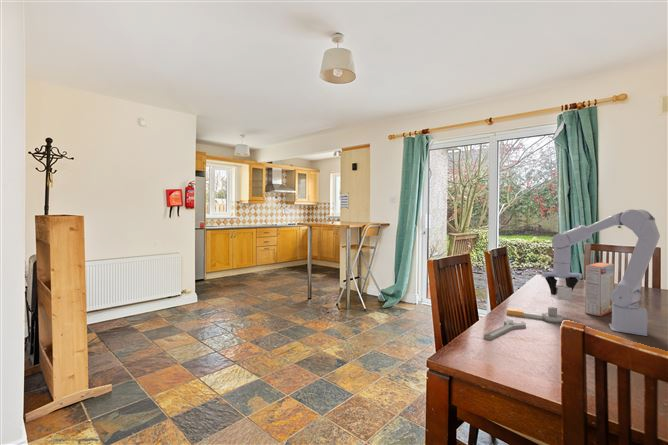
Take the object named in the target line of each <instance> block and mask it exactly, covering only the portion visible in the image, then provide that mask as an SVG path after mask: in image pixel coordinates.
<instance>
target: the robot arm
mask: <svg viewBox="0 0 668 445" xmlns="http://www.w3.org/2000/svg"><path fill="white" fill-rule="evenodd" d="M616 226H624V227H626V228H627V229H629V230H631V231H632V232H633V233H634V234H635V235H636V237H637V238H638V239H637V241H636V244H635V246H634V249H633V252H632V254H631V256H630V259H629V261H628V264H627V266H626V269H625V270H624V271H625V272H624V274H623V276H622V279H621V280H620V281H619V283H618V284H617V286H616V288H614V289H613V291H612V292H611V294H610V298H611V300H612V302H613V303H612V312H611V323H608V326H609V328H610V329H611V331H613V332H619V333H624V334H630V335H639V336H646V337H647V336H648V310H647V309H646V308H643V307H640V306H639V304H638V302H639V301H640V300H641V299H642V294H641V290H642V281H643V279H644V276H645V274H646V271H647V269H648V267H649V265H650V262H651V260H652V257H653V255H654V253H655V250H656V247H657V245H658V243H659V240H660V238H661V234H660V232H659V229H658V226H657V223H656V217H654V216H653V215H652V214H651V213H650V211H648V210H644V209H627V210H625V211H622V212H618V213H615V214H612V215H610V216H607V217H605V218H603V219H601V220H598V221H596V222H594V223H591V224H590V225H588V226H587V225H584V224H581V225H579V224H577V225H574V228H572V229H570V230H564V231H563V233H556V234H555V235H553V236H552V238H551V244H552V245H553V267H552V268H553V271H547V272H546V271H545V272H544V271H541V278H545V281H546V282H547V285H548V287H549V290H550V295H551V294H552V295H555V294H556V285H557V283H558V279H559V278H560V279H561V278H562V279H565V286H568V287H570V288H572V292H573V291H574V288H575V286H576V285H577V284H578V283H579V279H580V280H581V279H582V278H583V274H582V273H579V272H571V247H572V246H573V245H576V244H579V243H581V242H584V241H586V240H588V239H591V238H592V235H593V234H594V233H597V232H600V231H604V230H606V229H609V228H611V227H616ZM557 278H558V279H557Z"/></svg>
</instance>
